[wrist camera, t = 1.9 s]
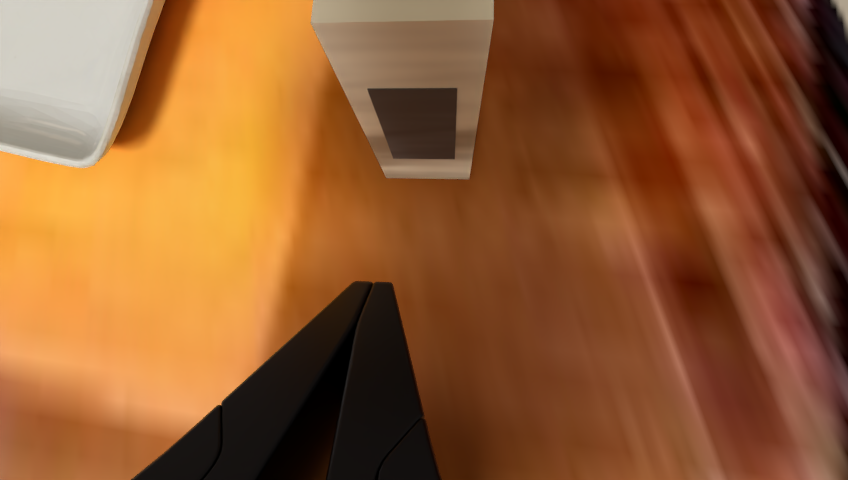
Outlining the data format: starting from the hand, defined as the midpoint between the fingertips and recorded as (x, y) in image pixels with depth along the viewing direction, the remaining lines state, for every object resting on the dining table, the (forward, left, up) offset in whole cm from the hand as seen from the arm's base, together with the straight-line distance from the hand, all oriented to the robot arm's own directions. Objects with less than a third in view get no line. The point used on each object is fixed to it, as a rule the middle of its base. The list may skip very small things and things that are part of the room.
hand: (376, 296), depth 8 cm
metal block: (+9, +4, -12) cm, 16 cm away
